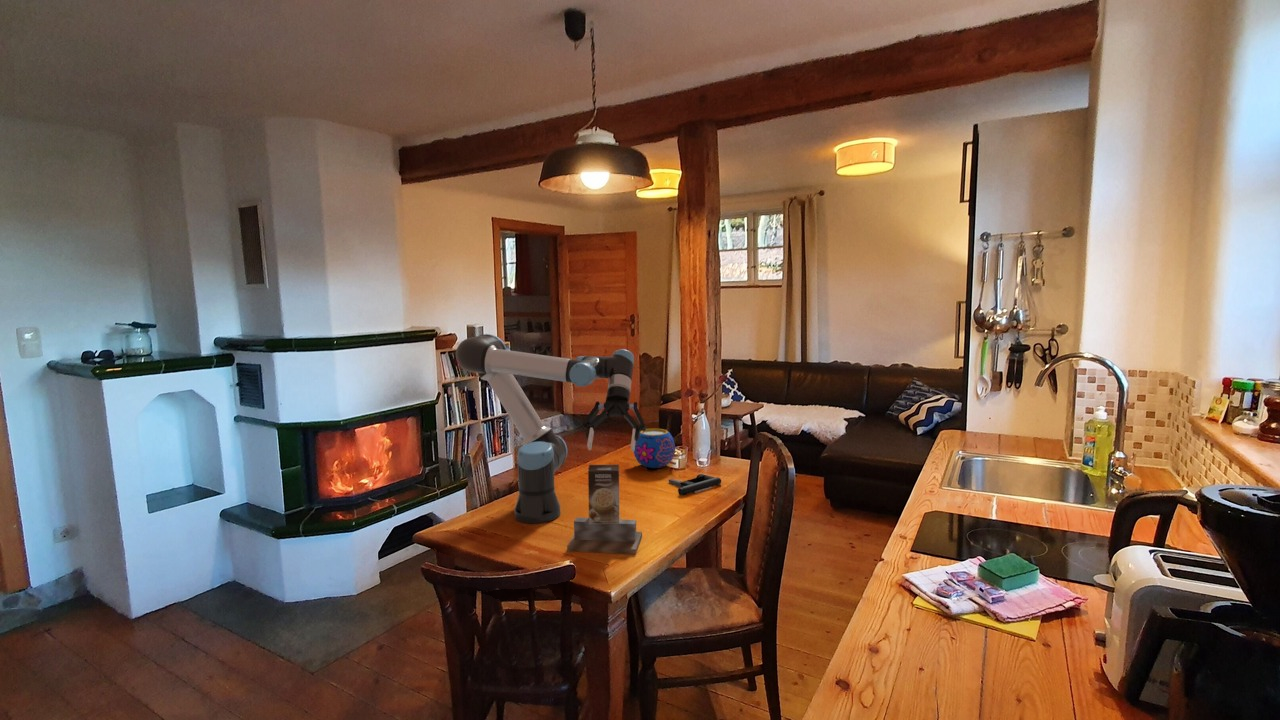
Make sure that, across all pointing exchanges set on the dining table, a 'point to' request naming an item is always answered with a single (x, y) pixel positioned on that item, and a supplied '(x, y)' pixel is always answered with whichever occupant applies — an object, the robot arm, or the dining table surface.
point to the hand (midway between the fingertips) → (610, 448)
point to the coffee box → (603, 494)
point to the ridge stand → (605, 537)
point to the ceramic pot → (654, 448)
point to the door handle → (696, 484)
